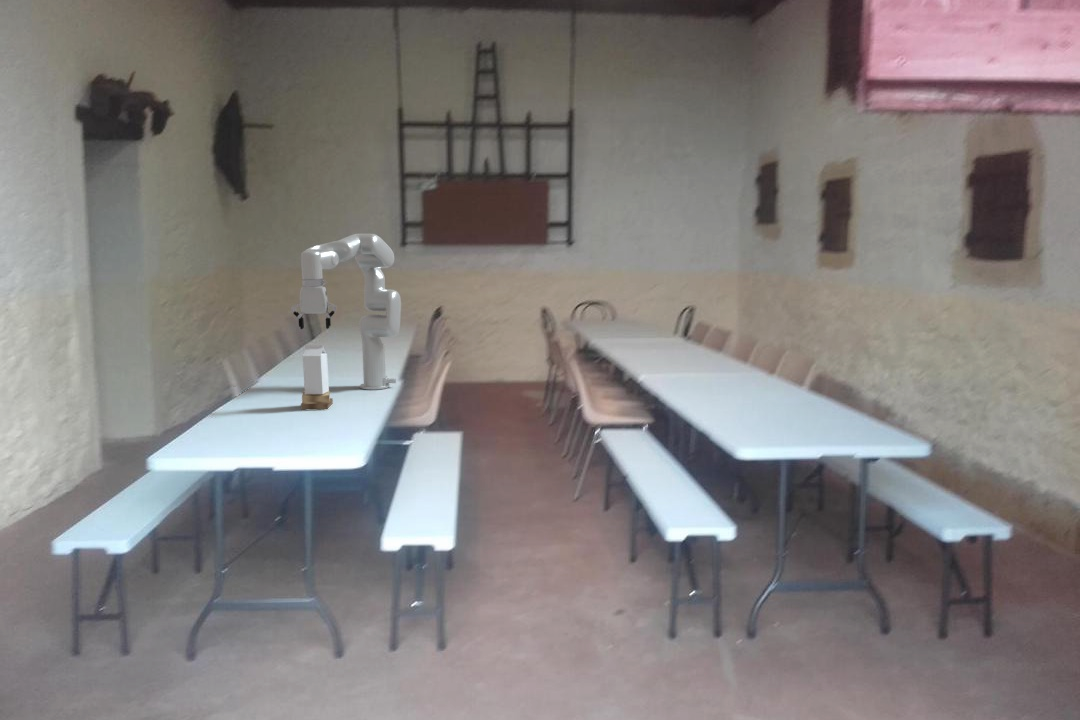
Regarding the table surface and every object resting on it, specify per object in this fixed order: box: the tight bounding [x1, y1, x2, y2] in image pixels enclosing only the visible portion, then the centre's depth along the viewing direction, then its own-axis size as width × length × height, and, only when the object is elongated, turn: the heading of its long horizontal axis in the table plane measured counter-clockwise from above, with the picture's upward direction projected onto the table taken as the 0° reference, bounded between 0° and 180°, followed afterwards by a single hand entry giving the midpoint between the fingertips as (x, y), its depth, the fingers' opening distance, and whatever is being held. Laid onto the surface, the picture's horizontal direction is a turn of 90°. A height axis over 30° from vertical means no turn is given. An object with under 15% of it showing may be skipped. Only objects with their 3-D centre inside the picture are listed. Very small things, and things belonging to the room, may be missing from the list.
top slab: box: [301, 390, 331, 404], centre depth 341 cm, size 10×10×3 cm
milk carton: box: [302, 343, 330, 394], centre depth 340 cm, size 7×7×19 cm
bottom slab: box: [300, 397, 334, 411], centre depth 342 cm, size 10×10×3 cm
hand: (315, 328), depth 338 cm, fingers open, 9 cm apart
